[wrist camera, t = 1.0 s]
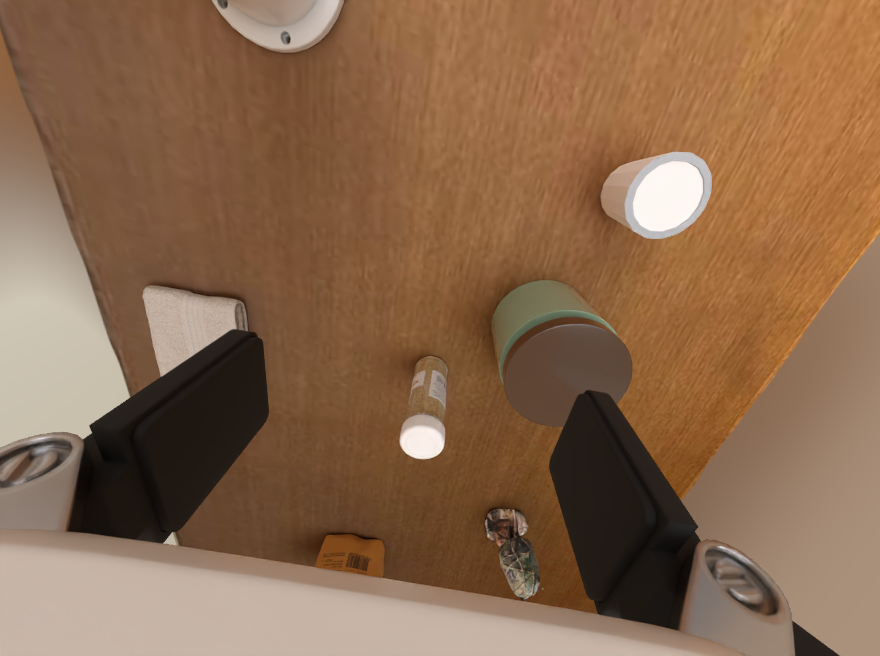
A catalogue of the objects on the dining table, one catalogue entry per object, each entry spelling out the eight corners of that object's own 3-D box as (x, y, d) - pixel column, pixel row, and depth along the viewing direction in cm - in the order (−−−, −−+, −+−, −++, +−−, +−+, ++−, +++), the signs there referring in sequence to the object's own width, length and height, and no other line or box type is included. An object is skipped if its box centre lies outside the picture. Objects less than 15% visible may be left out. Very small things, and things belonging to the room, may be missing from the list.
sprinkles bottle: (411, 357, 44) (393, 430, 32) (444, 352, 43) (439, 424, 31) (419, 385, 46) (405, 463, 34) (451, 380, 45) (448, 458, 33)
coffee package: (385, 567, 66) (354, 737, 46) (324, 558, 66) (266, 725, 46) (389, 537, 62) (357, 711, 42) (324, 527, 61) (260, 698, 42)
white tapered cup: (613, 145, 32) (651, 140, 25) (678, 164, 32) (731, 164, 26) (582, 217, 35) (610, 228, 28) (642, 233, 35) (682, 248, 29)
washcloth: (178, 393, 48) (161, 407, 46) (151, 279, 40) (128, 287, 38) (258, 406, 49) (246, 421, 46) (247, 296, 41) (231, 305, 38)
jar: (491, 282, 38) (503, 324, 28) (596, 277, 38) (648, 319, 27) (490, 367, 44) (500, 429, 33) (582, 365, 43) (622, 428, 33)
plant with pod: (542, 505, 55) (582, 667, 37) (516, 543, 60) (540, 701, 42) (497, 494, 55) (516, 653, 37) (474, 533, 60) (481, 690, 42)
